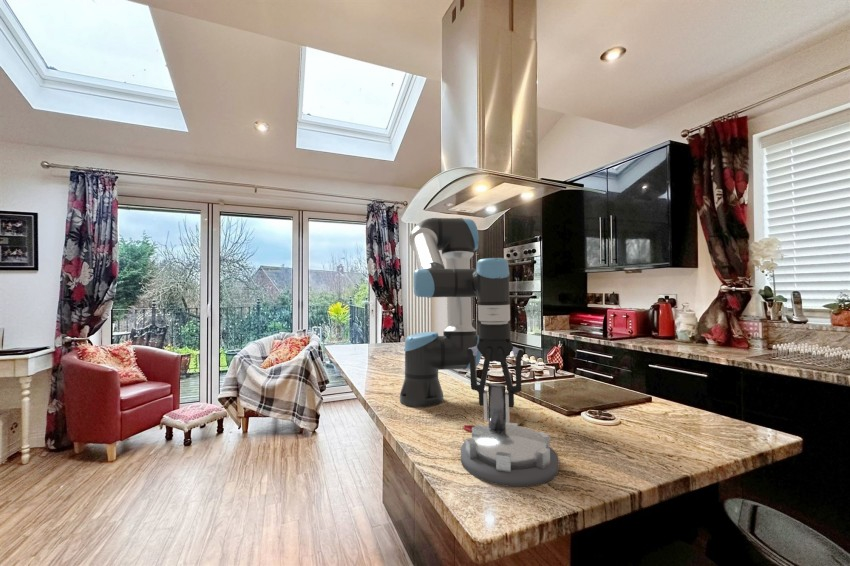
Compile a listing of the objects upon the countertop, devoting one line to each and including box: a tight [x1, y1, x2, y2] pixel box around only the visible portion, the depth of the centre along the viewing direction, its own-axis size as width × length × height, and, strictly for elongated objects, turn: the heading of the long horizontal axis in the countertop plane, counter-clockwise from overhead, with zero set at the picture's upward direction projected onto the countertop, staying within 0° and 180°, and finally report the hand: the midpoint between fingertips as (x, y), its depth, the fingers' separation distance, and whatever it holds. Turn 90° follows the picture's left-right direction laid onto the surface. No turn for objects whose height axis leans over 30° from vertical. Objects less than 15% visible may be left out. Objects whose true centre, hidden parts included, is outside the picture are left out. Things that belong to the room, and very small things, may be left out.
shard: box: [509, 411, 527, 426], centre depth 103 cm, size 11×8×2 cm
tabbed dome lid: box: [465, 382, 551, 472], centre depth 80 cm, size 18×19×13 cm
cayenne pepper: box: [462, 424, 475, 433], centre depth 96 cm, size 12×5×2 cm, turn 22°
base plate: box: [460, 436, 559, 488], centre depth 79 cm, size 21×21×2 cm
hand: (496, 419), depth 86 cm, fingers open, 4 cm apart
